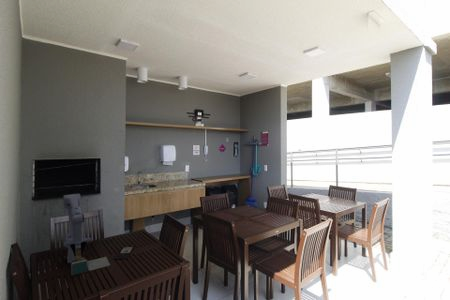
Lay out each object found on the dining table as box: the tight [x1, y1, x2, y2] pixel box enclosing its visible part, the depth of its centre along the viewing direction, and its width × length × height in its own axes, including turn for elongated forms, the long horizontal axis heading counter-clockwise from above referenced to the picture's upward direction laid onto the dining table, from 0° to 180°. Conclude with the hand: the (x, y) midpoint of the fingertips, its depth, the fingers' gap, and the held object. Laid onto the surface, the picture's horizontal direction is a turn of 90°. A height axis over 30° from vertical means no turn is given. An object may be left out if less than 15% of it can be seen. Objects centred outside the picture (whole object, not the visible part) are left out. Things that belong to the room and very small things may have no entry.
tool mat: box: [87, 256, 111, 272], centre depth 158 cm, size 14×12×1 cm
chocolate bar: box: [113, 246, 135, 261], centre depth 174 cm, size 9×1×18 cm
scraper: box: [70, 248, 86, 263], centre depth 152 cm, size 4×7×8 cm, turn 126°
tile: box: [70, 259, 88, 277], centre depth 147 cm, size 2×8×7 cm, turn 126°
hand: (78, 255), depth 152 cm, fingers closed on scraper, 3 cm apart
